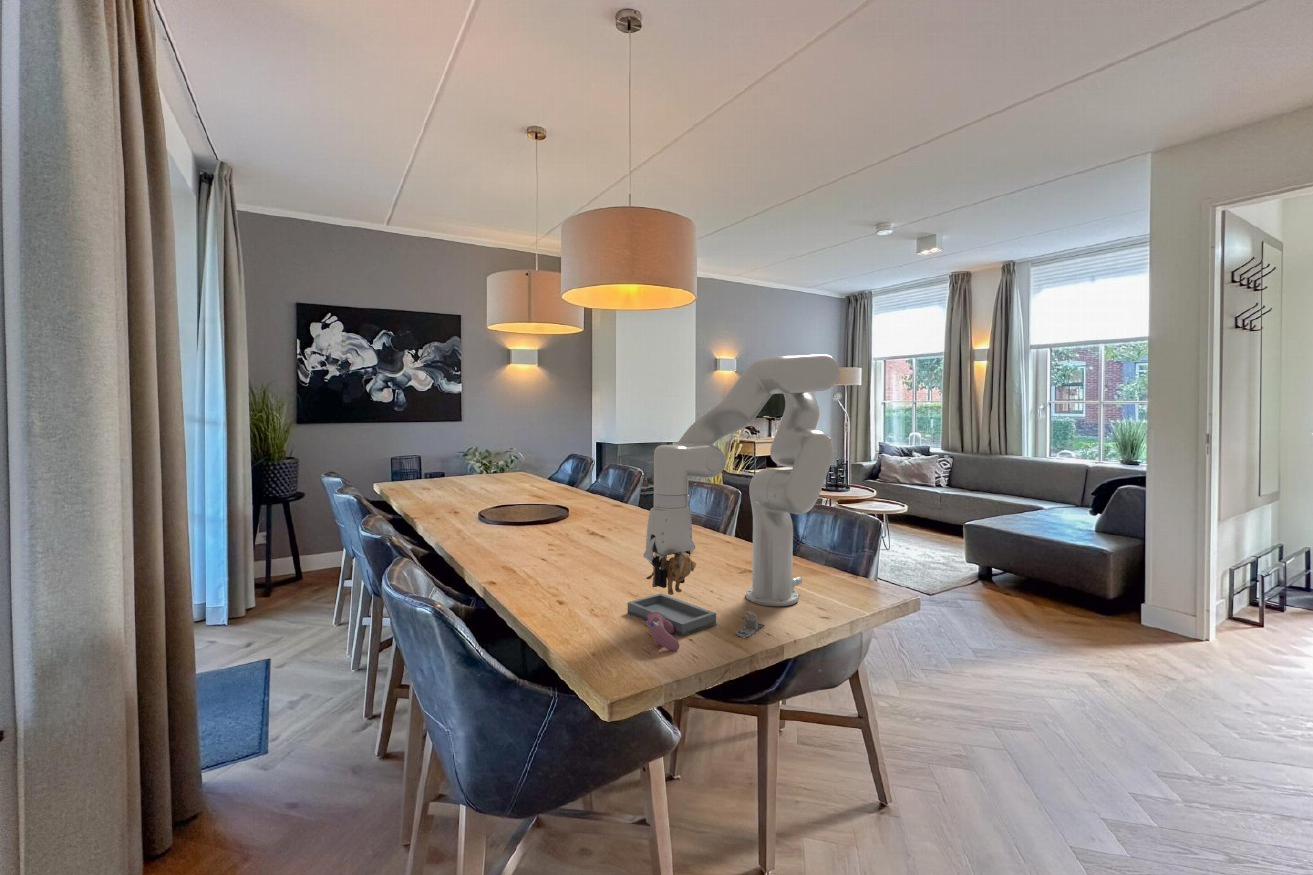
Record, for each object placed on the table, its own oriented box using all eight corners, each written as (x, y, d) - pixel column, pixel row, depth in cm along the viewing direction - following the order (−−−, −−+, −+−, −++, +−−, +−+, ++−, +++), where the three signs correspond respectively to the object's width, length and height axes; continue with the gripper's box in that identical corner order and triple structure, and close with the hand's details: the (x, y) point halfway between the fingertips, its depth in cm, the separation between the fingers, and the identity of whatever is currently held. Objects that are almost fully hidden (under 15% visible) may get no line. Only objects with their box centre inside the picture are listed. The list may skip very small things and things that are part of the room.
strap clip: (747, 640, 118) (748, 619, 118) (734, 636, 120) (734, 616, 120) (765, 627, 125) (766, 607, 125) (752, 624, 127) (753, 605, 127)
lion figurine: (698, 595, 126) (700, 553, 126) (680, 599, 123) (681, 557, 122) (654, 579, 137) (655, 541, 137) (636, 582, 134) (637, 543, 134)
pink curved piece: (656, 640, 122) (640, 610, 121) (675, 629, 122) (660, 600, 121) (660, 660, 112) (643, 628, 111) (681, 649, 112) (665, 617, 111)
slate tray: (660, 603, 140) (660, 593, 139) (716, 624, 126) (716, 613, 126) (627, 613, 133) (627, 602, 133) (682, 636, 119) (682, 624, 119)
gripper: (686, 496, 137) (685, 573, 137) (629, 503, 126) (628, 587, 126) (710, 500, 131) (709, 581, 132) (652, 507, 120) (651, 595, 121)
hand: (669, 583), depth 129 cm, fingers closed on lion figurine, 4 cm apart
